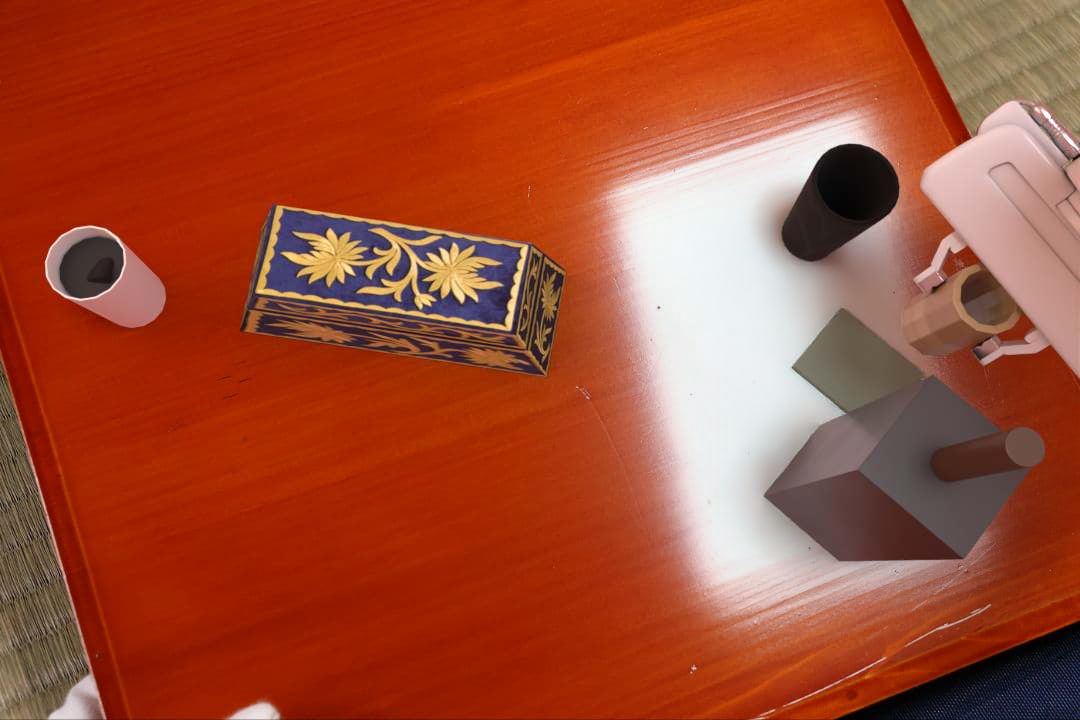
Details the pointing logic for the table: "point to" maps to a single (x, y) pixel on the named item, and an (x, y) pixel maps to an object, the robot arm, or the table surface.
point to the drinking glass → (104, 277)
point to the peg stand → (905, 477)
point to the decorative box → (404, 290)
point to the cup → (840, 201)
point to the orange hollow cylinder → (959, 313)
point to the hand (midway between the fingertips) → (948, 321)
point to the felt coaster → (854, 364)
